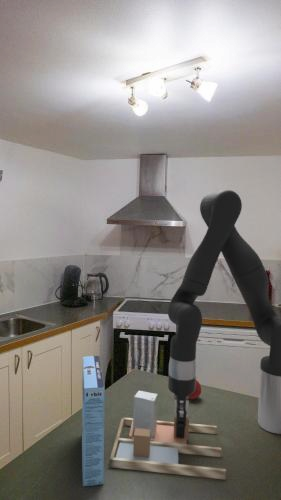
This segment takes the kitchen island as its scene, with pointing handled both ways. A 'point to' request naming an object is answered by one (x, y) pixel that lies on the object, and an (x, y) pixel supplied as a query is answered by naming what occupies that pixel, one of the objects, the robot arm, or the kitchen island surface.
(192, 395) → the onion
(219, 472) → the lane rails
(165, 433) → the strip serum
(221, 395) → the kitchen island surface
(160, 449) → the strip empty
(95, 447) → the light blue flat box
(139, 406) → the skincare box
